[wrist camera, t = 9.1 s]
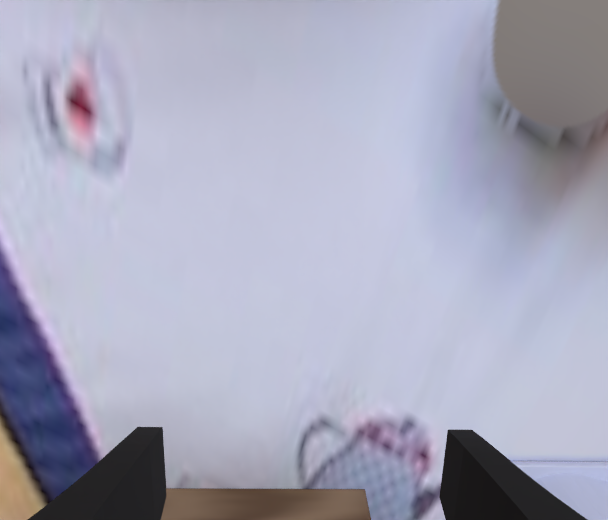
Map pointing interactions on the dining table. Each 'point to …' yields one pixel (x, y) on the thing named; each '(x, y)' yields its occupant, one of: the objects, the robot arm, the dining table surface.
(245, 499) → the walnut slot holder
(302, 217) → the dining table surface
